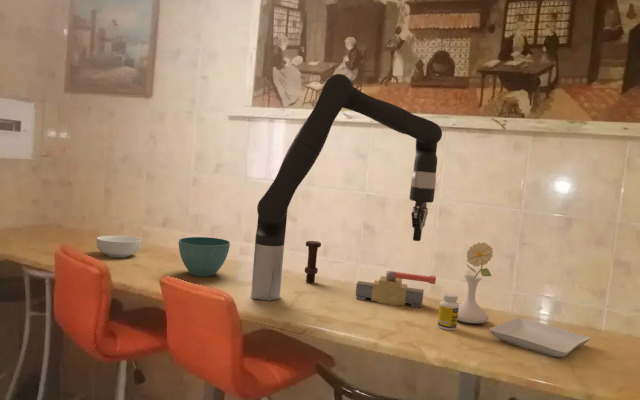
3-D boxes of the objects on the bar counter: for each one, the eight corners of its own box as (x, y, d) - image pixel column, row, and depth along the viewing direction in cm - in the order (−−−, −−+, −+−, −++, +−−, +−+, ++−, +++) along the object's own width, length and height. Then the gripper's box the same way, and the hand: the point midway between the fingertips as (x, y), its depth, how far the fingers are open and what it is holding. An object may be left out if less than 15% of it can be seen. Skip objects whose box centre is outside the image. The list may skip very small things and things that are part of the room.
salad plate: (590, 347, 157) (592, 335, 157) (565, 364, 141) (566, 351, 141) (516, 327, 171) (517, 316, 171) (485, 341, 155) (487, 328, 155)
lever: (435, 283, 185) (436, 276, 185) (434, 285, 182) (435, 278, 182) (386, 277, 189) (387, 269, 189) (385, 279, 186) (386, 271, 186)
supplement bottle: (452, 332, 159) (456, 298, 159) (434, 327, 162) (438, 294, 161) (458, 327, 164) (462, 295, 163) (441, 323, 167) (444, 291, 166)
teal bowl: (191, 282, 191) (194, 246, 190) (167, 270, 205) (169, 237, 204) (237, 277, 203) (239, 244, 202) (211, 267, 217) (213, 235, 216)
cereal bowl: (149, 257, 226) (150, 239, 225) (114, 261, 212) (115, 243, 211) (121, 250, 235) (122, 233, 234) (86, 254, 221) (87, 236, 220)
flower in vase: (442, 316, 175) (450, 237, 173) (471, 315, 180) (480, 237, 178) (468, 329, 163) (477, 244, 161) (499, 327, 168) (508, 245, 166)
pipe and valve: (421, 308, 182) (423, 286, 181) (354, 299, 186) (356, 277, 186) (422, 303, 189) (424, 281, 188) (357, 294, 193) (359, 273, 193)
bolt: (315, 284, 202) (318, 243, 201) (301, 283, 203) (305, 242, 202) (318, 281, 208) (321, 241, 207) (305, 279, 209) (308, 240, 208)
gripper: (416, 184, 184) (410, 236, 185) (406, 185, 172) (399, 241, 173) (438, 187, 181) (432, 240, 182) (430, 188, 169) (423, 244, 170)
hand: (416, 240), depth 178 cm, fingers closed
